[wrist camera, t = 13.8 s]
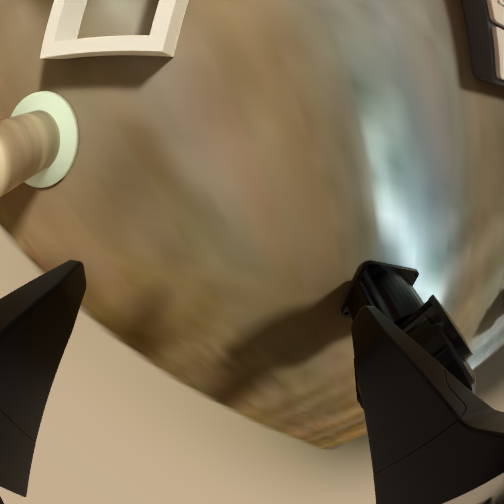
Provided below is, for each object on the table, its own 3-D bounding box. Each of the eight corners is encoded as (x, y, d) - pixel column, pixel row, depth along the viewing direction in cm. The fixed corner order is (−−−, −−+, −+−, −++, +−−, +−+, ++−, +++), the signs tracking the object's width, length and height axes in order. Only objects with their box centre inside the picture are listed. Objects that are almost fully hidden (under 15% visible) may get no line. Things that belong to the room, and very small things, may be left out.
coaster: (83, 88, 15) (79, 88, 14) (78, 189, 19) (74, 192, 19) (12, 94, 14) (7, 95, 13) (11, 182, 18) (8, 184, 17)
